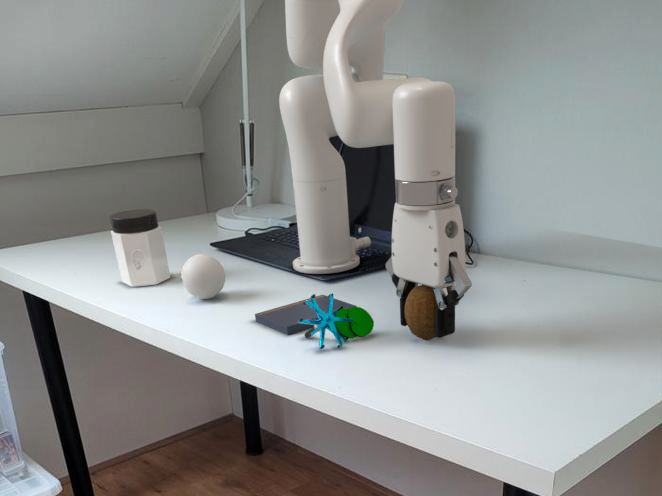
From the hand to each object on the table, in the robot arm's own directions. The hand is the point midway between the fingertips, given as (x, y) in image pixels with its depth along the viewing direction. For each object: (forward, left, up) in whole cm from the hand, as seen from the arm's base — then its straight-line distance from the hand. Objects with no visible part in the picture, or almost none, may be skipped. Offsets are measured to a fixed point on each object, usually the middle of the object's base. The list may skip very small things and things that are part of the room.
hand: (427, 328), depth 104 cm
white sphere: (+12, -44, -2) cm, 46 cm away
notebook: (+6, -21, -2) cm, 22 cm away
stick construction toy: (+9, -10, -2) cm, 14 cm away
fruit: (0, 0, -2) cm, 2 cm away
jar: (+14, -62, -2) cm, 64 cm away
